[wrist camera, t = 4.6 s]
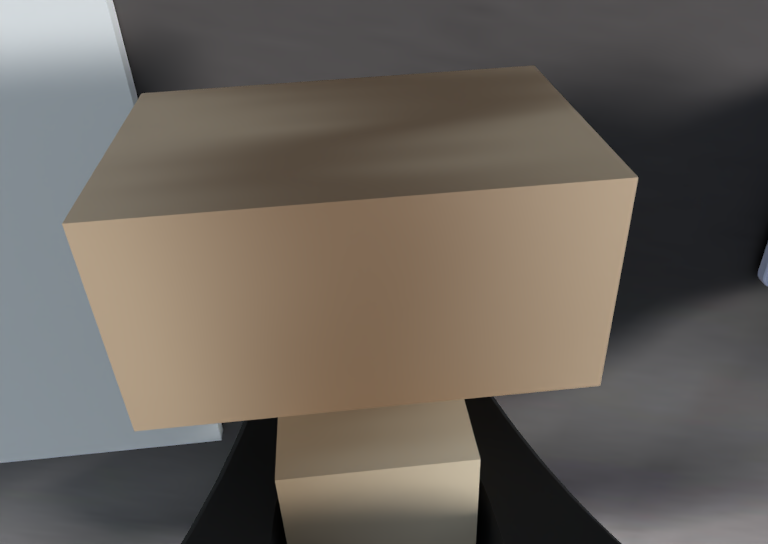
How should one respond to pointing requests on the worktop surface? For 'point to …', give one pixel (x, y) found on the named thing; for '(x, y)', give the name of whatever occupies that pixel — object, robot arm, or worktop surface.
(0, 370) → the grey mat
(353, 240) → the tan boxy piece
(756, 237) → the worktop surface
